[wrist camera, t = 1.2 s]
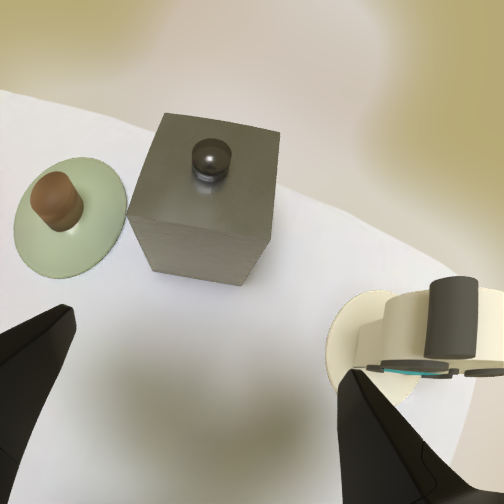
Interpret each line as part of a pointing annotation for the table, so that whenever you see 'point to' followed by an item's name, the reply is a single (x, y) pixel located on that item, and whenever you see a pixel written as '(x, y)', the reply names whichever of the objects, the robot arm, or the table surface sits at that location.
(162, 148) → the cover
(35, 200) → the wooden cylinder
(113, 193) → the plate
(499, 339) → the panda figurine
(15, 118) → the table surface
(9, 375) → the robot arm
